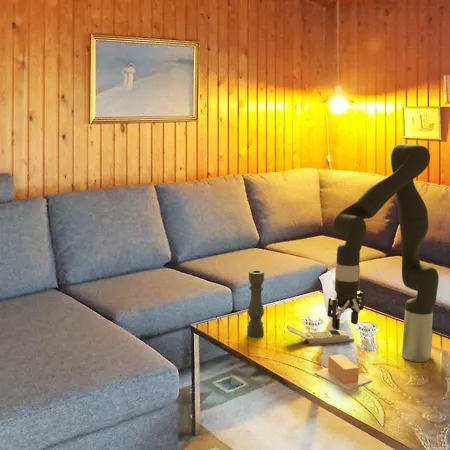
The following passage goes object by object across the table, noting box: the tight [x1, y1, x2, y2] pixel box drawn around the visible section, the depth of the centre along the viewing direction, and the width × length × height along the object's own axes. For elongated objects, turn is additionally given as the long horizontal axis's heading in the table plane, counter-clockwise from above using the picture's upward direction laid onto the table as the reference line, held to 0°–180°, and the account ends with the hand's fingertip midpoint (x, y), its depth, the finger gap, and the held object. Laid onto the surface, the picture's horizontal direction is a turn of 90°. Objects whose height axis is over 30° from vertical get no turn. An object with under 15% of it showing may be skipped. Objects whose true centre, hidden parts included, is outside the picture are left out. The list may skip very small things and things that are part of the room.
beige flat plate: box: [313, 367, 373, 391], centre depth 203 cm, size 11×15×1 cm
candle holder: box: [246, 269, 265, 339], centre depth 236 cm, size 6×6×25 cm
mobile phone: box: [286, 325, 355, 345], centre depth 234 cm, size 6×6×25 cm
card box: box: [327, 354, 360, 384], centre depth 203 cm, size 11×5×5 cm, turn 18°
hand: (345, 326), depth 200 cm, fingers open, 8 cm apart
